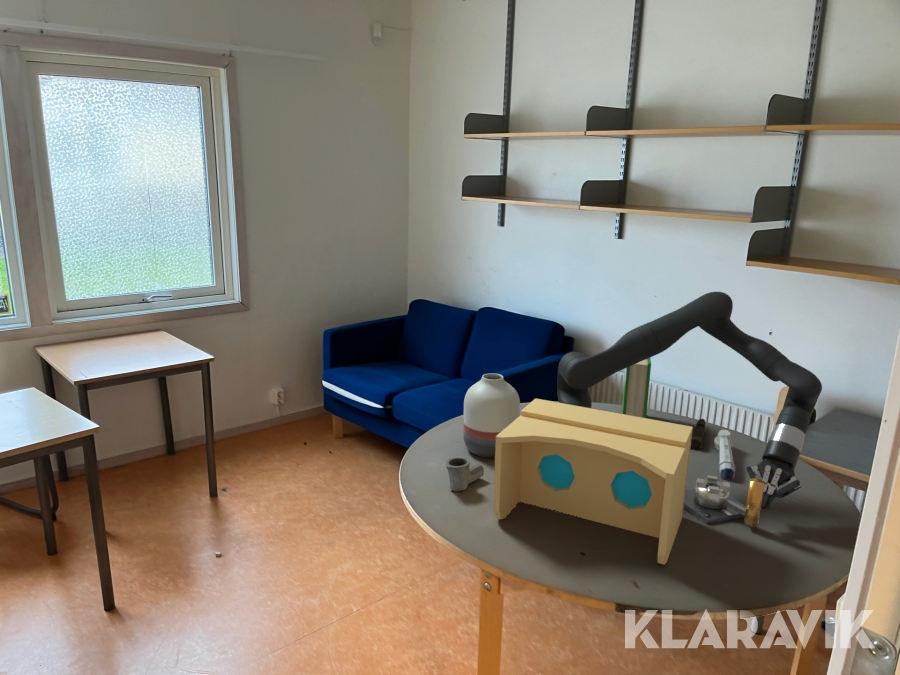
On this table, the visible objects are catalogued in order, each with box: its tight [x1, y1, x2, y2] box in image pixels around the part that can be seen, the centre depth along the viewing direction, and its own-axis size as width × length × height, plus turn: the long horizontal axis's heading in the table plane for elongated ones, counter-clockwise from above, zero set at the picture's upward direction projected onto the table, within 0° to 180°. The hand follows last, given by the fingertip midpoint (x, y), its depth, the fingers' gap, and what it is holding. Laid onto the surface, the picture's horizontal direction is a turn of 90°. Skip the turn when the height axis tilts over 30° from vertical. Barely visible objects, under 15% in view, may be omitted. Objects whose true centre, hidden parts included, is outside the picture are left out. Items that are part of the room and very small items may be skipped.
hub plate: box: [683, 488, 746, 525], centre depth 166 cm, size 14×14×2 cm
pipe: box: [445, 456, 485, 492], centre depth 175 cm, size 6×13×8 cm, turn 136°
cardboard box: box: [492, 398, 694, 565], centre depth 156 cm, size 40×26×24 cm, turn 62°
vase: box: [462, 372, 521, 459], centre depth 195 cm, size 17×17×24 cm
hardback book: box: [621, 357, 652, 418], centre depth 218 cm, size 18×7×24 cm, turn 165°
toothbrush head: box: [714, 429, 737, 481], centre depth 192 cm, size 5×7×25 cm
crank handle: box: [694, 474, 765, 528], centre depth 161 cm, size 18×8×11 cm, turn 27°
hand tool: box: [690, 418, 706, 451], centre depth 208 cm, size 19×4×5 cm, turn 150°
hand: (761, 509), depth 155 cm, fingers closed
